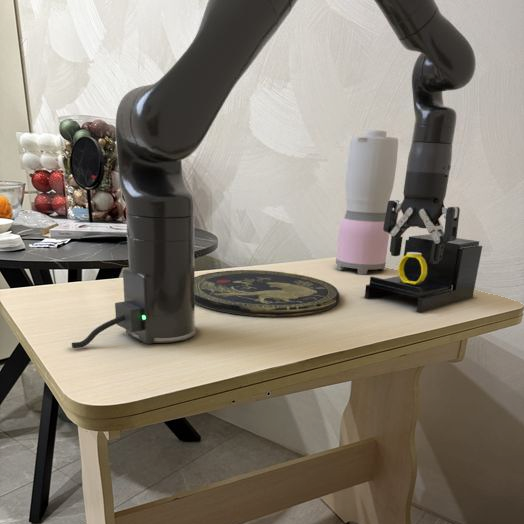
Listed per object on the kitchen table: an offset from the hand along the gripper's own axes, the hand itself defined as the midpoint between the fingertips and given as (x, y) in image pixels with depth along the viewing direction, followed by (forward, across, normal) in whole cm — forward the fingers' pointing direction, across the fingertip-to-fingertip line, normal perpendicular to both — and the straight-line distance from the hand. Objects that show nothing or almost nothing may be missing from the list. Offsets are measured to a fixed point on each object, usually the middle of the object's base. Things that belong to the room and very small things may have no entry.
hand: (414, 259), depth 100 cm
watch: (+5, 0, 0) cm, 5 cm away
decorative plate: (+8, -19, -22) cm, 30 cm away
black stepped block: (+8, 0, +5) cm, 10 cm away
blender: (+8, -25, +18) cm, 32 cm away
